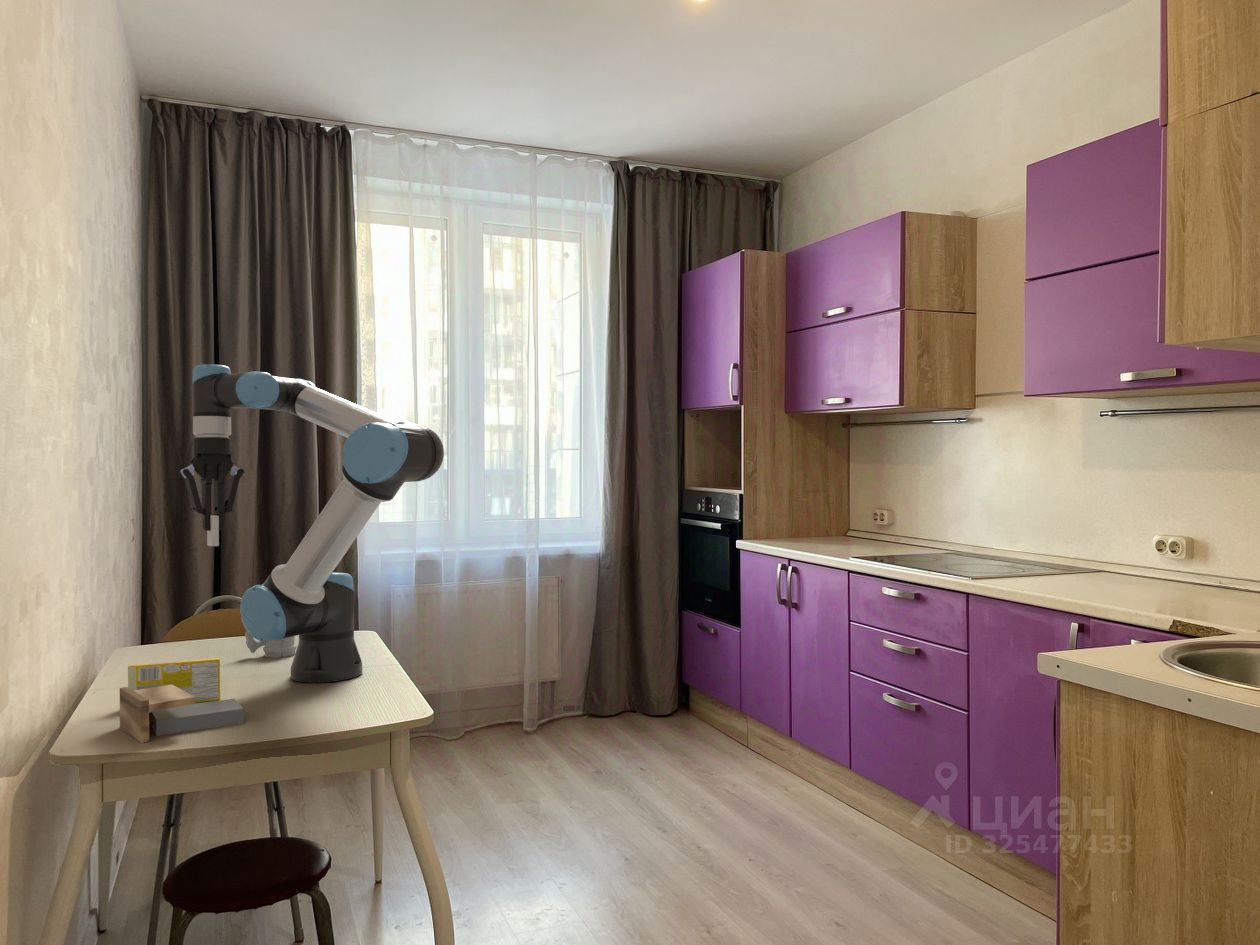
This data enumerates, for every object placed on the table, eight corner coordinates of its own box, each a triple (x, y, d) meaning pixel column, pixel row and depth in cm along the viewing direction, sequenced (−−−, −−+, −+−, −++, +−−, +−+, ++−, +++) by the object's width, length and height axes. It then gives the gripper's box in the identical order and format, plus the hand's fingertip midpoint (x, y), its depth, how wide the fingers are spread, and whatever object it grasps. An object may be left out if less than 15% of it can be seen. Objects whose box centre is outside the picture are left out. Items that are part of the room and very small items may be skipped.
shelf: (172, 718, 166) (171, 680, 166) (195, 732, 156) (195, 692, 156) (119, 727, 160) (119, 688, 160) (141, 743, 151) (141, 701, 151)
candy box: (220, 698, 181) (220, 657, 181) (220, 701, 179) (219, 659, 179) (129, 706, 175) (129, 663, 175) (127, 709, 173) (127, 666, 173)
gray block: (234, 714, 170) (234, 698, 170) (243, 725, 163) (243, 708, 163) (150, 726, 162) (150, 709, 162) (156, 738, 155) (156, 720, 155)
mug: (299, 655, 223) (299, 607, 223) (247, 661, 217) (247, 611, 217) (293, 650, 229) (293, 603, 229) (243, 655, 223) (243, 607, 223)
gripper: (236, 438, 203) (237, 543, 203) (174, 436, 194) (175, 546, 194) (249, 436, 197) (250, 544, 197) (185, 435, 188) (186, 548, 188)
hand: (213, 545), depth 195 cm, fingers closed
